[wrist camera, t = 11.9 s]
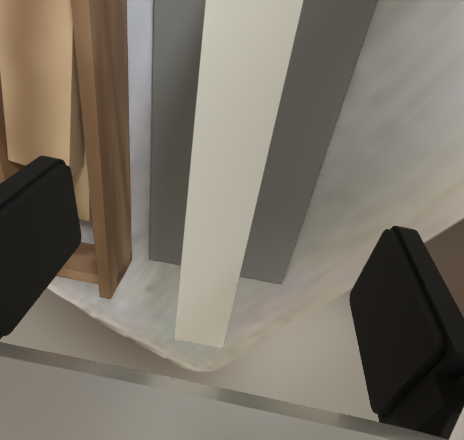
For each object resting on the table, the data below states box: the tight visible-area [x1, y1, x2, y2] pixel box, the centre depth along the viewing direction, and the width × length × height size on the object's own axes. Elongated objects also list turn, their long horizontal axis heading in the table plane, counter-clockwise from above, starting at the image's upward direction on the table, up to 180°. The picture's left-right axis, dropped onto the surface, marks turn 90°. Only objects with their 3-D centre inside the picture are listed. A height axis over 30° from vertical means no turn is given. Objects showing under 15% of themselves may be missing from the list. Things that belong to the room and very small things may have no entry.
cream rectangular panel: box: [174, 0, 303, 348], centre depth 19 cm, size 3×22×13 cm, turn 171°
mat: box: [149, 0, 377, 284], centre depth 25 cm, size 14×34×1 cm, turn 171°
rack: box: [0, 0, 132, 299], centre depth 23 cm, size 14×36×6 cm, turn 171°
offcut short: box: [0, 0, 85, 176], centre depth 22 cm, size 4×12×2 cm, turn 163°
